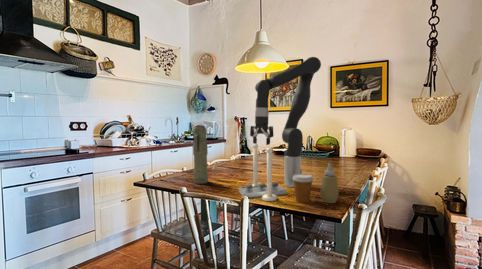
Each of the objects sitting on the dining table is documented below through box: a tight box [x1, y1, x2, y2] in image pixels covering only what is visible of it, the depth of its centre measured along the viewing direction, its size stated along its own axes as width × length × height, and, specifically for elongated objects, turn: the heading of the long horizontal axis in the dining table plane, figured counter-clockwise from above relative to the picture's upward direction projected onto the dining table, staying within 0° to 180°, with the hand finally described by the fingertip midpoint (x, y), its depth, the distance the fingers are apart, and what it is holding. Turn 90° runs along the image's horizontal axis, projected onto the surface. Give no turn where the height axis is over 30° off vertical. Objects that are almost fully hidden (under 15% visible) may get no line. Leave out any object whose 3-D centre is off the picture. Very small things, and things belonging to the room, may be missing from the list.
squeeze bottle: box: [319, 162, 339, 204], centre depth 127 cm, size 8×8×18 cm
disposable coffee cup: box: [293, 173, 314, 204], centre depth 129 cm, size 10×10×12 cm
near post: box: [261, 147, 278, 202], centre depth 132 cm, size 7×7×25 cm
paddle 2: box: [272, 181, 279, 188], centre depth 145 cm, size 3×3×2 cm
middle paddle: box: [258, 182, 267, 188], centre depth 143 cm, size 3×3×2 cm
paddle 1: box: [245, 183, 253, 190], centre depth 142 cm, size 3×3×2 cm
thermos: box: [192, 124, 209, 185], centre depth 168 cm, size 9×12×35 cm
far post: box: [251, 143, 259, 186], centre depth 153 cm, size 7×7×25 cm
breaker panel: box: [238, 184, 287, 199], centre depth 144 cm, size 22×12×3 cm, turn 105°
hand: (261, 144), depth 157 cm, fingers open, 8 cm apart
